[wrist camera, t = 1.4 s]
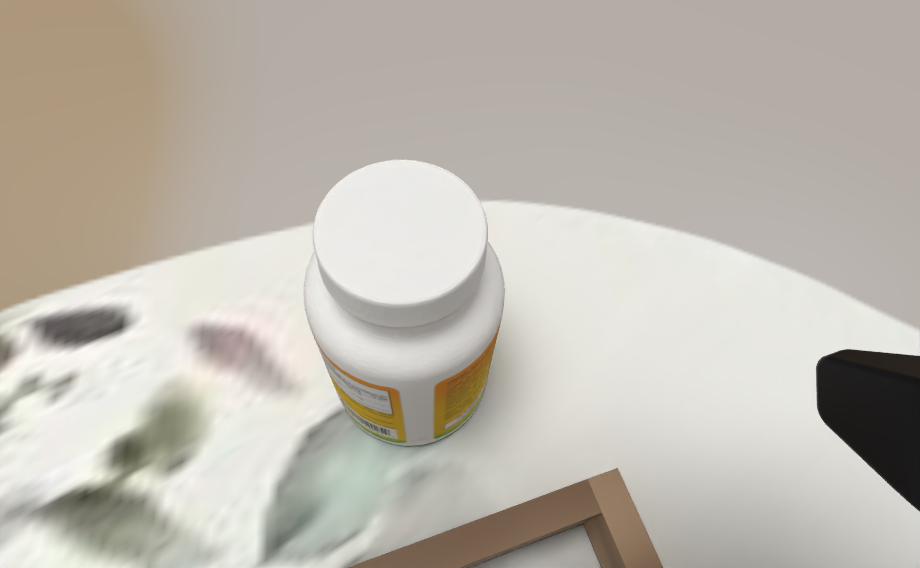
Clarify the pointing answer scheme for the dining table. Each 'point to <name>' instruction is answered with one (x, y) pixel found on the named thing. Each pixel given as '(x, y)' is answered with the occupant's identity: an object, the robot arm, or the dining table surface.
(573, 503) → the walnut collar
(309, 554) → the dining table surface
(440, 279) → the supplement bottle
